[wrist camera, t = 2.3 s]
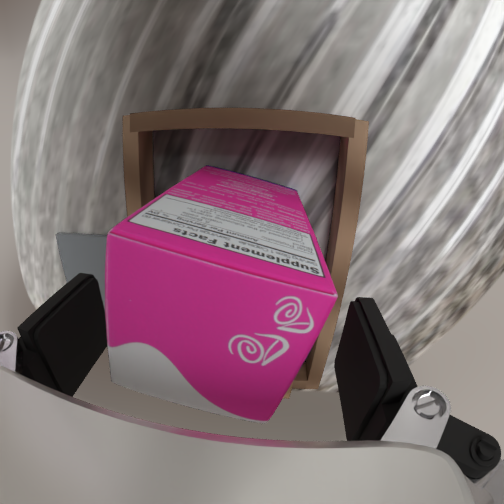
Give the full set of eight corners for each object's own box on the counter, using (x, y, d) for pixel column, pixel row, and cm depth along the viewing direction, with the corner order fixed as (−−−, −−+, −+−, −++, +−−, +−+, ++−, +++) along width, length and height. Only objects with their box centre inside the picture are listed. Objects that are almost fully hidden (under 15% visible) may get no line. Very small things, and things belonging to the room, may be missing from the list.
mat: (58, 232, 19) (55, 234, 19) (144, 237, 19) (141, 239, 18) (79, 315, 22) (77, 318, 22) (158, 330, 22) (156, 333, 21)
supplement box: (273, 273, 19) (266, 431, 8) (185, 248, 19) (101, 381, 8) (302, 189, 16) (344, 300, 6) (204, 161, 16) (90, 226, 6)
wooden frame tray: (138, 116, 15) (113, 115, 12) (358, 121, 14) (375, 121, 12) (163, 356, 23) (152, 381, 20) (315, 371, 22) (318, 398, 20)
